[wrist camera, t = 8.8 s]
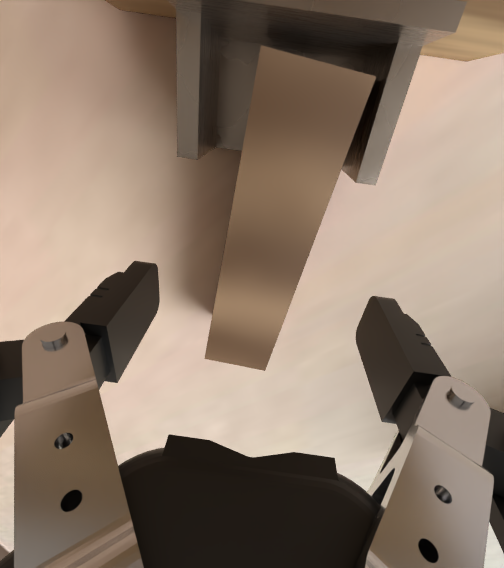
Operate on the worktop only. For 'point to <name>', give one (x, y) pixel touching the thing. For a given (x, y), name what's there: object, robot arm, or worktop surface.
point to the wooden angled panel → (458, 46)
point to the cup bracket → (307, 43)
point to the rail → (281, 196)
